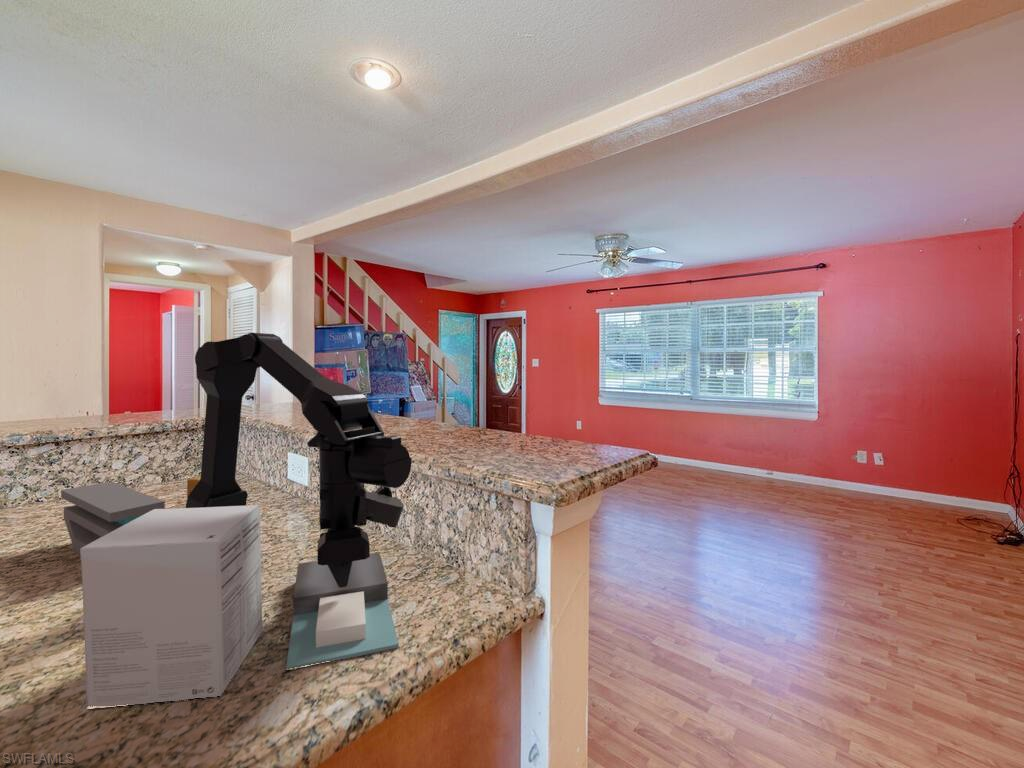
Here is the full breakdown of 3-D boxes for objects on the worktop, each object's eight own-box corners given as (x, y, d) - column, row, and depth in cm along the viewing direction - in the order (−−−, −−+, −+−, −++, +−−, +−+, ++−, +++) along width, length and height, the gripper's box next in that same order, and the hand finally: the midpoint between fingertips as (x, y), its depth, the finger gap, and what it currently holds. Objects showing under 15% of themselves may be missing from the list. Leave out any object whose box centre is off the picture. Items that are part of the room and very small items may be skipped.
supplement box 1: (265, 629, 64) (263, 503, 63) (221, 699, 51) (217, 540, 50) (157, 638, 61) (153, 507, 61) (82, 713, 48) (76, 547, 48)
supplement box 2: (199, 524, 103) (198, 479, 103) (186, 523, 104) (185, 478, 104) (212, 519, 107) (211, 476, 106) (199, 518, 107) (198, 475, 107)
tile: (316, 647, 59) (315, 632, 59) (320, 611, 67) (320, 597, 67) (365, 638, 61) (365, 623, 61) (363, 604, 69) (363, 591, 69)
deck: (293, 618, 66) (293, 598, 66) (298, 581, 77) (298, 563, 77) (387, 602, 71) (387, 582, 71) (379, 568, 82) (379, 552, 82)
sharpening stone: (166, 560, 85) (164, 501, 85) (112, 576, 79) (110, 513, 78) (113, 532, 99) (111, 481, 98) (63, 544, 92) (60, 490, 91)
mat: (286, 671, 55) (286, 667, 55) (293, 618, 66) (293, 615, 66) (398, 647, 60) (398, 643, 60) (387, 602, 71) (387, 598, 71)
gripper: (408, 490, 61) (409, 607, 62) (390, 461, 78) (391, 553, 79) (316, 499, 57) (318, 624, 58) (319, 467, 74) (320, 563, 75)
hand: (342, 586), depth 67 cm, fingers closed
